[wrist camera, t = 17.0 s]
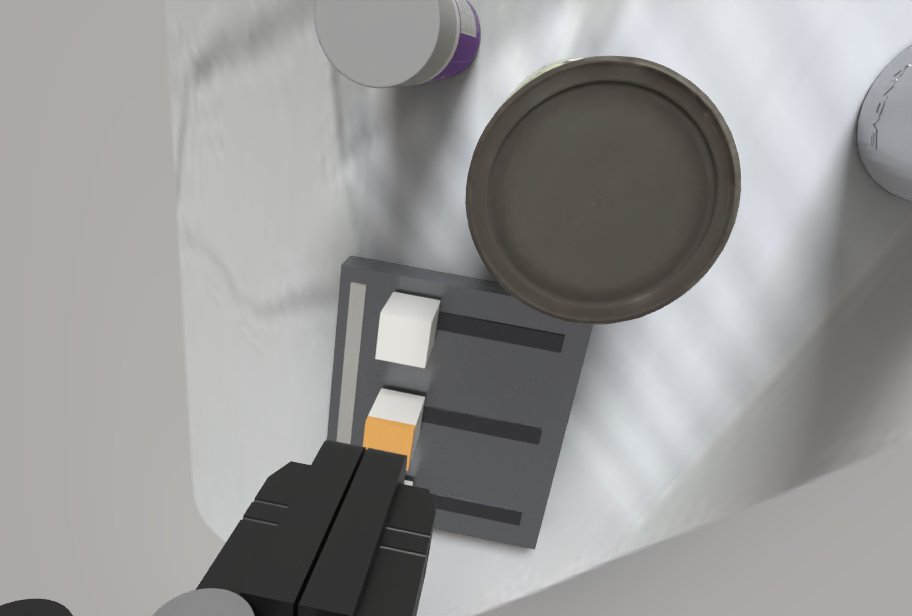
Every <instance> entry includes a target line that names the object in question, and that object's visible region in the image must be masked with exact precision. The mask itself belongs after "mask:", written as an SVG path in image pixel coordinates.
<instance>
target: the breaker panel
mask: <svg viewBox="0 0 912 616" xmlns="http://www.w3.org/2000/svg"><path fill="white" fill-rule="evenodd" d="M393 292H398V293H403V294H409V295H414V296H420V297H425V298H430V299H436V300H441V301H440V308H439V314H438V321H437V327H436V334H435V341H434V345H433V348H432V350H431V353H430V356H429V359H428V361H427V364H426V367H425V368H420V367H415V366H410V365H405V364H399V363H394V362H389V361H384V360H379V359H375V356H376V347H377V338H378V329H379V320H380V313H381V311H382V309H383V308H384V306H385V304H386V303H387V301H388V300H389V298H390V296H391V295H392V293H393ZM592 326H593V324H582V323H574V322H568V321H564V320H561V319H557V318H553V317H551V316H548V315H545V314H543V313H541V312H539V311H536V310H534V309H532V308H530V307H529V306H527V305H525V304H523V303H522V302H520V301H519V300H517V299H516V298H515V297H513V296H512V295H511V294H510V293H508V292H507V291H506V290H505V289H504V288H503V287H502V286H501V285H500V284H499V283H496V282H491V281H485V280H480V279H474V278H469V277H464V276H458V275H453V274H447V273H442V272H436V271H431V270H425V269H420V268H415V267H409V266H404V265H398V264H393V263H387V262H382V261H376V260H371V259H366V258H360V257H355V256H350V257H349V258H348V259H347V260H346V261H345V262H344V263H343V264H342V267H341V279H340V291H339V303H338V315H337V327H336V339H335V351H334V363H333V375H332V387H331V400H330V412H329V424H328V436H327V440H332V441H337V442H342V443H347V444H352V445H357V446H362V447H363V439H364V430H365V421H366V419H367V417H368V415H369V413H370V411H371V409H372V406H373V404H374V402H375V400H376V398H377V396H378V394H379V392H380V390H381V388H383V389H388V390H393V391H398V392H403V393H408V394H414V395H419V396H424V397H425V402H424V408H423V415H422V422H421V428H420V435H419V438H418V441H417V444H416V447H415V450H414V454H413V457H412V460H411V463H410V466H409V469H408V471H406V474H405V480H407V481H412V482H413V486H415V487H420V488H425V489H429V491H430V494H431V497H432V500H433V503H434V506H435V510H436V515H435V521H434V526H433V528H435V529H439V530H444V531H449V532H454V533H459V534H463V535H468V536H473V537H478V538H483V539H488V540H492V541H497V542H502V543H507V544H512V545H517V546H521V547H526V548H531V549H535V547H536V543H537V539H538V535H539V531H540V528H541V524H542V520H543V516H544V512H545V508H546V504H547V500H548V496H549V493H550V489H551V485H552V481H553V477H554V473H555V469H556V465H557V461H558V458H559V454H560V450H561V446H562V442H563V438H564V434H565V430H566V427H567V423H568V419H569V415H570V411H571V407H572V403H573V399H574V395H575V392H576V388H577V384H578V380H579V376H580V372H581V368H582V364H583V360H584V357H585V353H586V349H587V345H588V341H589V337H590V333H591V329H592Z"/></svg>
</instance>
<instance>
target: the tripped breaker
mask: <svg viewBox="0 0 912 616" xmlns="http://www.w3.org/2000/svg"><path fill="white" fill-rule="evenodd" d="M424 402H425V397H424V396H419V395H414V394H408V393H403V392H398V391H393V390H388V389H383V388H381V390H380V392H379V394H378V396H377V398H376V400H375V402H374V404H373V406H372V409H371V411H370V413H369V415H368V417H367V419H366V421H365V430H364V439H363V447H366V450H367V449H368V448H373V449H378V450H383V451H388V452H393V453H398V454H403V455H407V467H406V471H408V469H409V466H410V463H411V460H412V457H413V454H414V450H415V447H416V444H417V441H418V438H419V435H420V428H421V422H422V415H423V408H424Z"/></svg>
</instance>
